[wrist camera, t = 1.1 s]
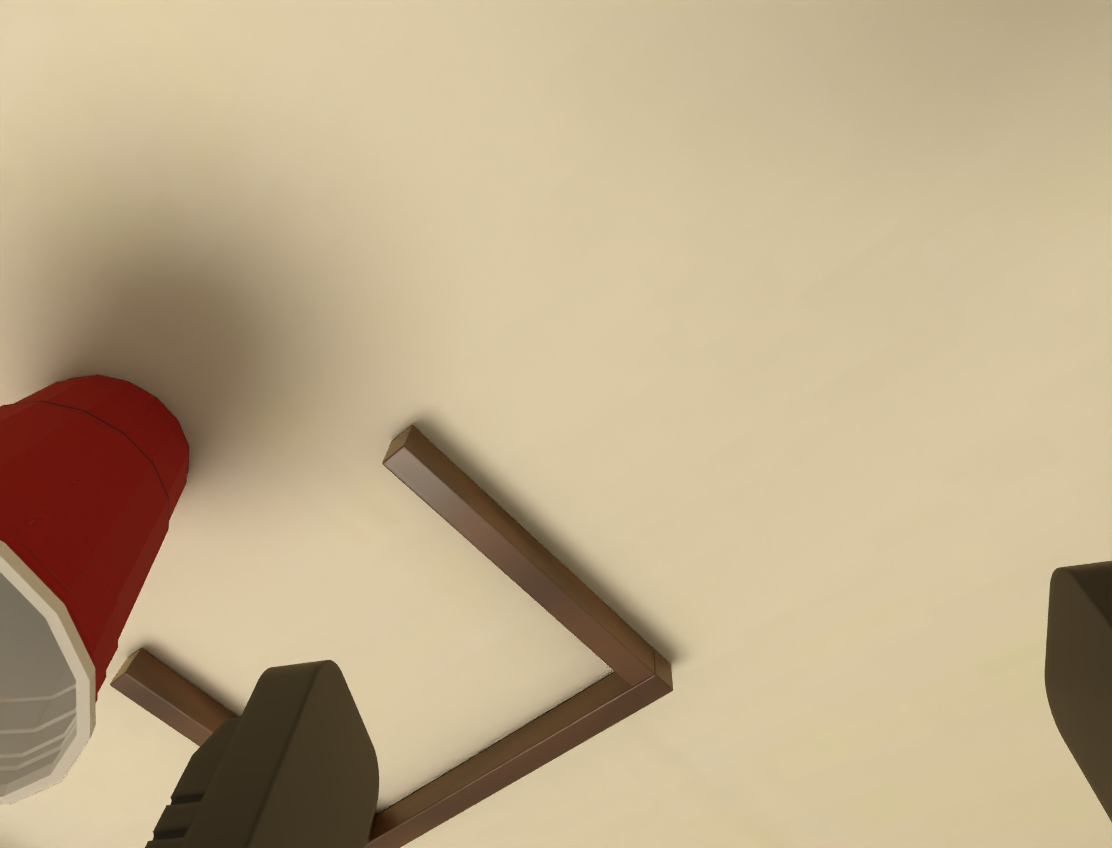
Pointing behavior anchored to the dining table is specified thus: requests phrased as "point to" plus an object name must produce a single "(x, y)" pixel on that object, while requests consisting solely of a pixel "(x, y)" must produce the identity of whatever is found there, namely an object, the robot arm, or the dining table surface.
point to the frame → (537, 574)
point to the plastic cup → (74, 558)
